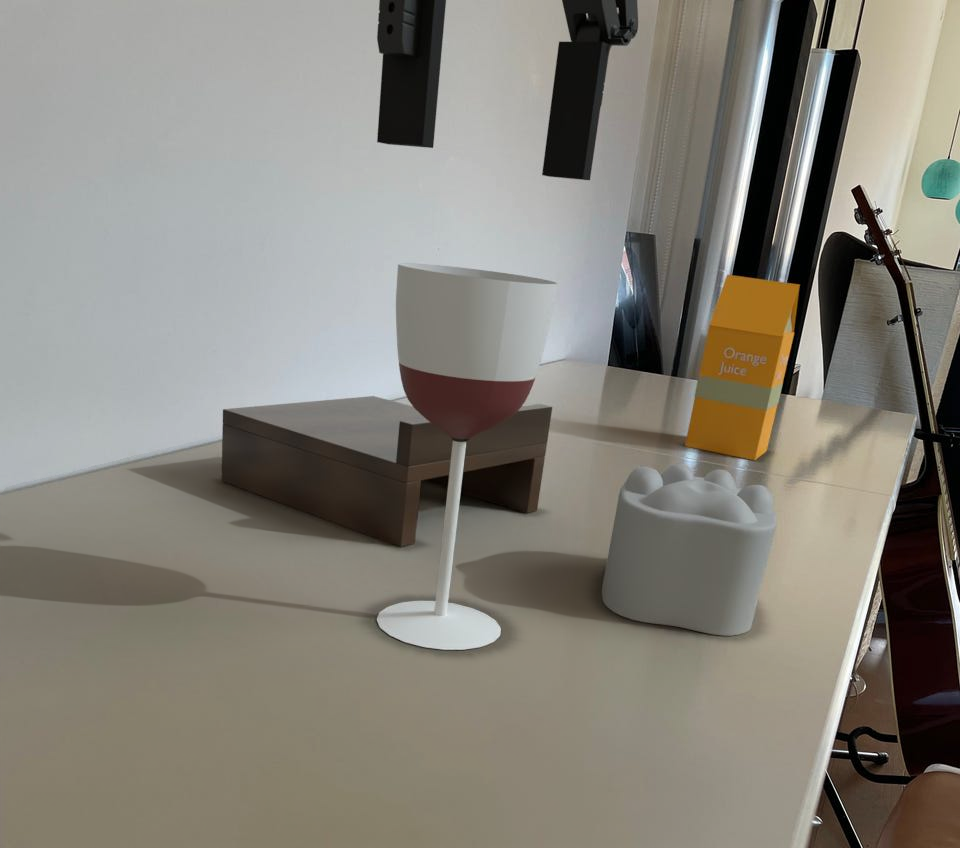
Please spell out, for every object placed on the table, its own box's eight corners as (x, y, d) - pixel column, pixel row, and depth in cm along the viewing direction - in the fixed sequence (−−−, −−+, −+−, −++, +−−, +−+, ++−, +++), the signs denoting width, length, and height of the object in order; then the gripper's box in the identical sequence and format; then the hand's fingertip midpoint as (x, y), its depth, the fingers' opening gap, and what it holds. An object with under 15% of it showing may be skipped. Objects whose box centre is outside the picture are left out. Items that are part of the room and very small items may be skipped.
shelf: (221, 481, 82) (223, 371, 79) (368, 457, 96) (375, 363, 93) (400, 547, 72) (412, 424, 69) (537, 510, 86) (552, 406, 82)
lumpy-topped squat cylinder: (596, 613, 64) (620, 484, 61) (608, 555, 76) (628, 444, 73) (757, 642, 63) (791, 511, 60) (744, 579, 75) (771, 467, 72)
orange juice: (699, 437, 128) (733, 274, 120) (767, 451, 125) (806, 284, 117) (683, 446, 121) (718, 274, 114) (755, 460, 118) (795, 284, 110)
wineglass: (341, 613, 59) (366, 259, 51) (451, 591, 65) (487, 269, 57) (425, 663, 54) (466, 278, 46) (536, 634, 60) (589, 287, 52)
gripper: (435, -650, 30) (381, 131, 38) (754, -274, 49) (672, 193, 57) (266, -572, 34) (251, 122, 42) (622, -252, 53) (563, 183, 61)
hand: (493, 164), depth 50 cm, fingers open, 13 cm apart
